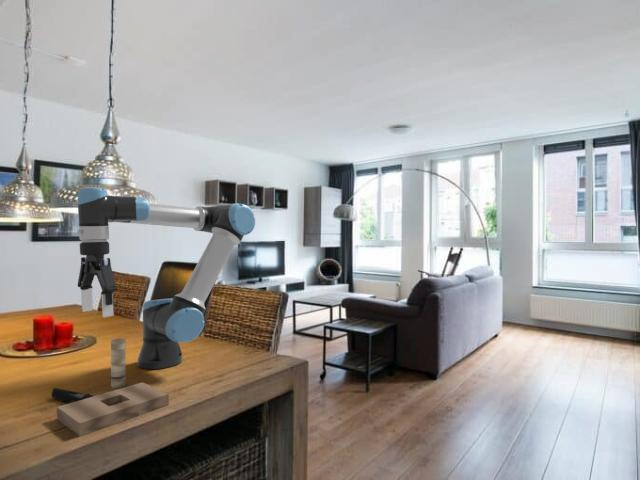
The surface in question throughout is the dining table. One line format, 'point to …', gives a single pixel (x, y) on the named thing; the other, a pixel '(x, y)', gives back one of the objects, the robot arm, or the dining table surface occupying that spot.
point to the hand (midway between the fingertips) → (97, 313)
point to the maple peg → (118, 363)
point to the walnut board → (111, 408)
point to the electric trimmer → (68, 395)
